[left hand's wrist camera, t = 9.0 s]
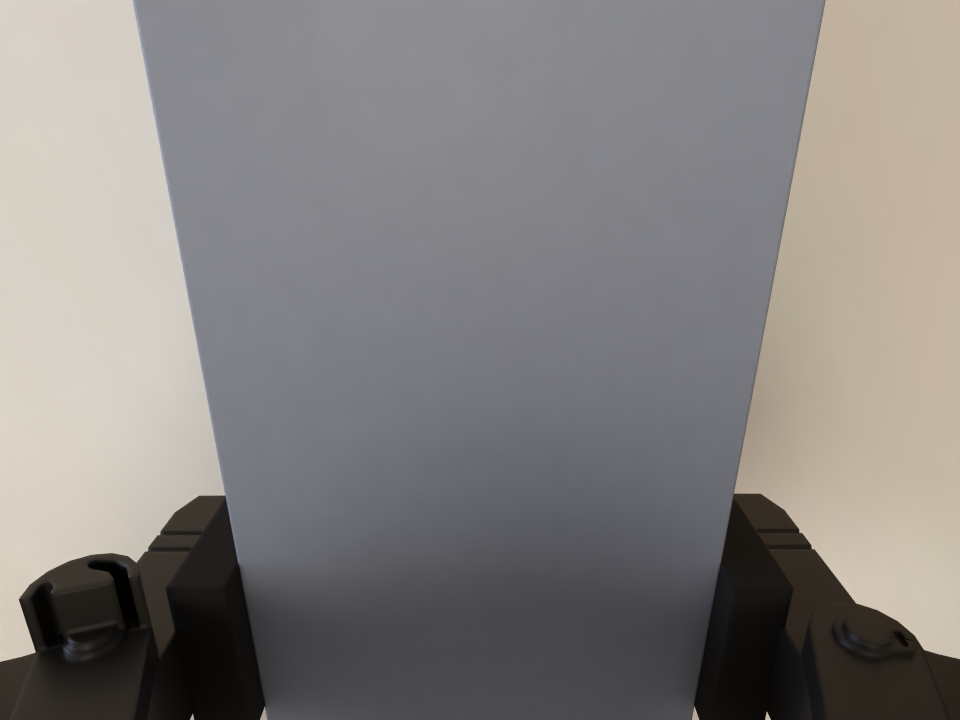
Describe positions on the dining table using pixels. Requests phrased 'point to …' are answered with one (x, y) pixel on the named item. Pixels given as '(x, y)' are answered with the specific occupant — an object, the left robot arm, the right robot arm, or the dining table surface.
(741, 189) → the cabinet
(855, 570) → the dining table surface
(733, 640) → the left robot arm
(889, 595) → the dining table surface
